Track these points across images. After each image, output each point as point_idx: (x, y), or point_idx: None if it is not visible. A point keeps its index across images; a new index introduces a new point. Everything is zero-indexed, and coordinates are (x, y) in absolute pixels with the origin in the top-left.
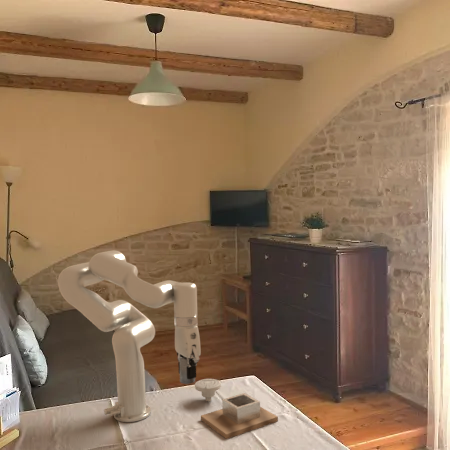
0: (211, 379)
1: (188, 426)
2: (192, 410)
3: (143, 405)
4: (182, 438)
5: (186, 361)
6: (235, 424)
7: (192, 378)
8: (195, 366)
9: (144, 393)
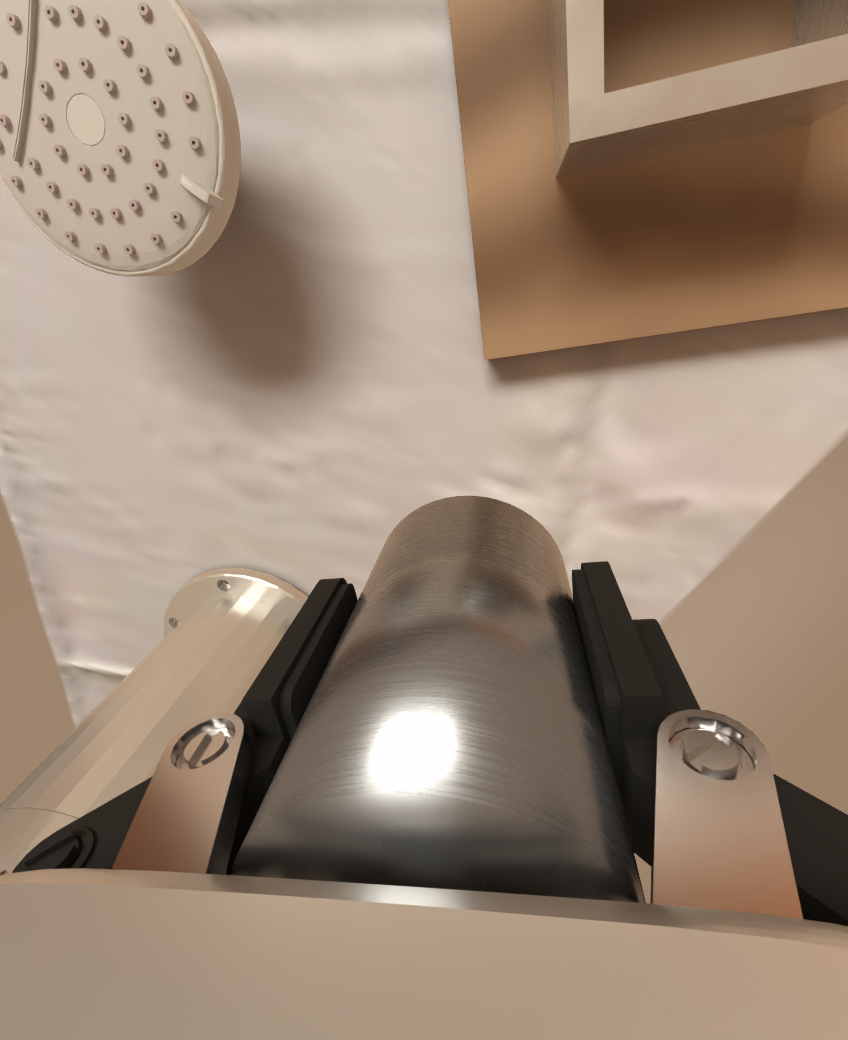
0: (3, 33)
1: (525, 458)
2: (324, 352)
3: (274, 647)
4: (642, 538)
5: None
6: (804, 148)
7: (570, 590)
8: (657, 690)
9: (226, 680)
